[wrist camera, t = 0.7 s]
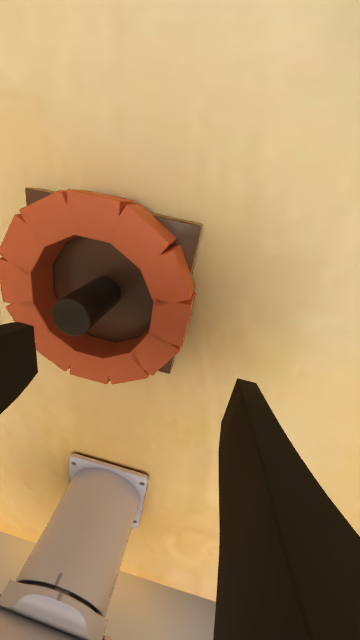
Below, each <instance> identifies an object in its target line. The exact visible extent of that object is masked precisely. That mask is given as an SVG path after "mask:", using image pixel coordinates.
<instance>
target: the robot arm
mask: <svg viewBox="0 0 360 640" xmlns="http://www.w3.org/2000/svg"><path fill="white" fill-rule="evenodd" d="M37 373H38V368H37V357H36V346H35V335H34V326H32V325H28V324H24V323H20V322H13V323H8V324H3V325H0V414H1V413H2V412H3V411H4V410H5V409H6V408H7V407H8V406H9V405H10V404H11V403H12V402H13V401H14V400H15V399H16V398H17V397H18V396H19V395H20V394H21V393H22V392H23V390H24V389H25V388H26V387H27V386H28V384H29V383H30V382H31V381H32V379H33V378H34V377H35V375H36V374H37ZM69 473H70V485H69V486H68V488H67V490H66V492H65V493H64V495H63V497H62V499H61V501H60V502H59V504H58V506H57V508H56V510H55V511H54V513H53V515H52V517H51V518H50V520H49V522H48V524H47V526H46V527H45V529H44V531H43V533H42V535H41V536H40V538H39V540H38V542H37V543H36V545H35V547H34V549H33V551H32V552H31V554H30V556H29V558H28V560H27V561H26V563H25V565H24V567H23V568H22V570H21V572H20V574H19V576H18V577H17V579H16V581H13V580H10V581H9V582H8V584H7V586H6V588H5V589H4V591H3V593H2V594H0V640H111V638H110V637H107V636H104V633H105V629H106V626H107V622H108V619H107V618H106V617H105V615H106V612H107V609H108V605H109V602H110V598H111V595H112V592H113V589H114V585H115V582H116V579H117V575H118V572H119V569H120V565H121V562H122V558H123V555H124V552H125V548H126V545H127V542H128V538H129V535H130V531H131V528H134V529H136V528H138V526H139V521H140V517H141V512H142V507H143V502H144V498H145V493H146V488H147V484H148V479H149V478H148V476H147V475H146V474H143V473H139V472H136V471H133V470H129V469H126V468H123V467H119V466H116V465H112V464H109V463H106V462H102V461H99V460H95V459H92V458H89V457H85V456H82V455H79V454H71V456H70V457H69ZM219 517H220V546H219V566H218V582H217V598H216V612H215V626H214V640H360V537H359V535H358V534H357V533H356V532H355V530H354V529H353V528H352V527H351V525H350V524H349V523H348V521H347V520H346V519H345V518H344V516H343V515H342V514H341V512H340V511H339V510H338V509H337V507H336V506H335V505H334V503H333V502H332V501H331V499H330V498H329V497H328V496H327V494H326V493H325V491H324V490H323V489H322V487H321V486H320V485H319V483H318V482H317V480H316V479H315V478H314V476H313V475H312V473H311V472H310V470H309V469H308V467H307V466H306V465H305V463H304V462H303V460H302V459H301V457H300V456H299V454H298V453H297V451H296V450H295V448H294V447H293V445H292V443H291V442H290V440H289V439H288V437H287V435H286V434H285V432H284V431H283V429H282V427H281V426H280V424H279V422H278V421H277V419H276V417H275V415H274V414H273V412H272V410H271V409H270V407H269V405H268V403H267V402H266V400H265V398H264V396H263V394H262V393H261V391H260V389H259V387H258V386H257V384H256V383H253V382H250V381H246V380H242V379H238V378H237V381H236V384H235V386H234V389H233V392H232V395H231V397H230V400H229V403H228V406H227V408H226V411H225V414H224V417H223V419H222V422H221V432H220V442H219Z"/></svg>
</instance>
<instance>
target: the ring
mask: <svg viewBox="0 0 360 640" xmlns="http://www.w3.org/2000/svg"><path fill="white" fill-rule="evenodd" d="M19 211H20V213H21V214H15V215H14V217H13V220H12V222H11V224H10V226H9V229H8V231H7V233H6V235H5V238H4V240H3V242H2V244H1V246H0V255H1V256H2V258H0V284H1V291H2V298H3V301H4V302H8V303H12V304H10V305H8V306H6V308H7V310H8V312H9V313H10V315H11V316H12V318H13V319H14V321H15V322H20V323H24V324H28V325H32V326H34V335H35V341H36V342H35V346H36V350H37V351H38V352H40V353H41V354H42V355H44V356H45V357H46V358H48V359H49V360H50V361H52V362H53V363H54V364H56V365H57V366H58V367H60V368H61V369H62V370H64V371H67V370H68V369H69V367H70V374H71V375H75V376H78V377H82V378H86V379H89V380H93V381H97V382H100V383H104V384H108V382H109V381H111V383H112V384H118V383H123V382H128V381H134V380H139V379H144V378H148V376H149V374H150V375H154V374H155V373H156V372H157V371H158V370H159V369H160V368H161V367H162V366H164V365H165V364H166V363H167V362H168V361H169V360H170V359H171V358H172V357H173V356H174V355H176V354H177V353H178V352H179V349H180V346H182V345H183V342H184V338H185V335H186V332H187V329H188V324H189V320H190V315H191V311H192V306H193V302H194V298H195V293H193V290H194V288H195V286H194V283H193V280H192V277H191V274H190V271H189V268H188V265H187V262H186V259H185V256H184V253H183V250H182V247H181V245H180V244H178V245H175V246H172V247H170V246H171V245H172V244H173V243H174V241H175V240H176V239H177V238H176V237H175V236H174V235H173V234H172V233H171V232H170V231H169V230H168V229H167V228H166V227H164V226H163V225H162V224H161V223H160V222H159V221H158V220H157V219H156V218H155V217H154V216H153V215H152V214H150V213H149V212H148V211H147V210H146V209H145V208H144V207H143V206H142V205H141V204H134V201H133V200H129V199H124V198H120V197H115V196H110V195H105V194H101V193H96V192H91V191H83V190H69V189H68V190H67V191H63V190H59V191H57V192H55V193H53V194H51V195H49V196H47V197H45V198H43V199H40V200H38V201H36V202H34V203H32V204H30V205H28V206H26V207H24V208H22V209H20V210H19ZM79 236H81V237H85V238H90V239H94V240H99V241H103V242H107V243H111V244H112V245H113V246H114V247H115V248H116V249H118V250H119V251H120V252H121V253H122V254H123V255H124V256H126V257H127V258H128V259H129V260H130V261H131V262H132V263H134V264H135V265H136V266H137V267H138V268H139V269H140V270H141V273H142V275H143V278H144V280H145V282H146V285H147V287H148V290H149V292H150V295H151V297H152V300H153V308H152V315H151V322H150V327H149V328H148V329H147V330H146V331H145V332H144V333H143V334H142V335H141V336H140V337H138V338H134V339H130V340H126V341H121V342H117V343H115V342H111V341H108V340H104V339H100V338H96V337H92V336H89V335H88V334H87V333H85V334H83V335H80V336H72V335H68V334H66V333H64V332H63V331H61V330H60V329H59V328H58V327H57V326H56V324H55V323H54V321H53V318H52V307H53V305H54V304H55V302H56V301H58V300H57V298H56V296H55V295H54V284H53V263H54V261H55V260H56V258H57V256H58V255H59V253H60V251H61V249H62V248H63V246H64V244H65V243H66V242H67V241H69V240H72V239H74V238H77V237H79Z"/></svg>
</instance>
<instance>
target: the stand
mask: <svg viewBox="0 0 360 640" xmlns="http://www.w3.org/2000/svg"><path fill="white" fill-rule="evenodd" d="M25 190H26V202H27V206H28V205H30V204H32V203H34V202H36V201H38V200H40V199H43V198H45V197H47V196H49V195H51V194H53V193H55V192H52V191H48V190H43V189H38V188H26V189H25ZM149 213H150V212H149ZM150 214H152V215H153V216H154V217H155V218H156V219H157V220H158V221H159V222H160V223H161V224H162V225H163V226H164V227H166V228H167V229H168V230H169V231H170V232H171V233H172V234H173V235H174V236H175V237H176V238H177V239H176V240H175V241H174V243H173V244H172V245H171V246H170V247H172V246H175V245H178V244H180V245H181V247H182V250H183V253H184V256H185V259H186V262H187V265H188V268H189V271H190V274H191V277H192V272H193V267H194V263H195V258H196V253H197V249H198V244H199V239H200V234H201V230H202V224H201V223H196V222H191V221H187V220H182V219H177V218H173V217H168V216H163V215H159V214H154V213H150ZM53 284H54V295H55V296H56V298H57V300H58V301H56V302H55V304H54V305H53V307H52V318H53V321H54V323H55V324H56V326H57V327H58V328H59V329H60V330H61V331H63V332H64V333H66V334H68V335H72V336H80V335H83V334H85V333H87V334H88V335H89V336H92V337H96V338H100V339H104V340H108V341H111V342H115V343H117V342H121V341H126V340H130V339H134V338H138V337H140V336H141V335H142V334H143V333H144V332H145V331H146V330H147V329H148V328H149V327H150V322H151V315H152V308H153V300H152V297H151V295H150V292H149V290H148V287H147V285H146V282H145V280H144V278H143V275H142V273H141V270H140V269H139V268H138V267H137V266H136V265H135V264H134V263H132V262H131V261H130V260H129V259H128V258H127V257H126V256H124V255H123V254H122V253H121V252H120V251H119V250H118V249H116V248H115V247H114V246H113V245H112V244H111V243H107V242H103V241H99V240H94V239H90V238H85V237H81V236H79V237H77V238H74V239H72V240H69V241H67V242H66V243H65V244H64V246H63V248H62V249H61V251H60V253H59V255H58V256H57V258H56V260H55V261H54V263H53ZM174 357H175V355H174V356H173V357H172V358H171V359H170V360H169V361H168V362H167V363H166V364H165V365H164V366H162V367H161V368H160V369H159V370H158V371H161V372H164V373H168V374H170V372H171V369H172V366H173V362H174Z"/></svg>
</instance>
